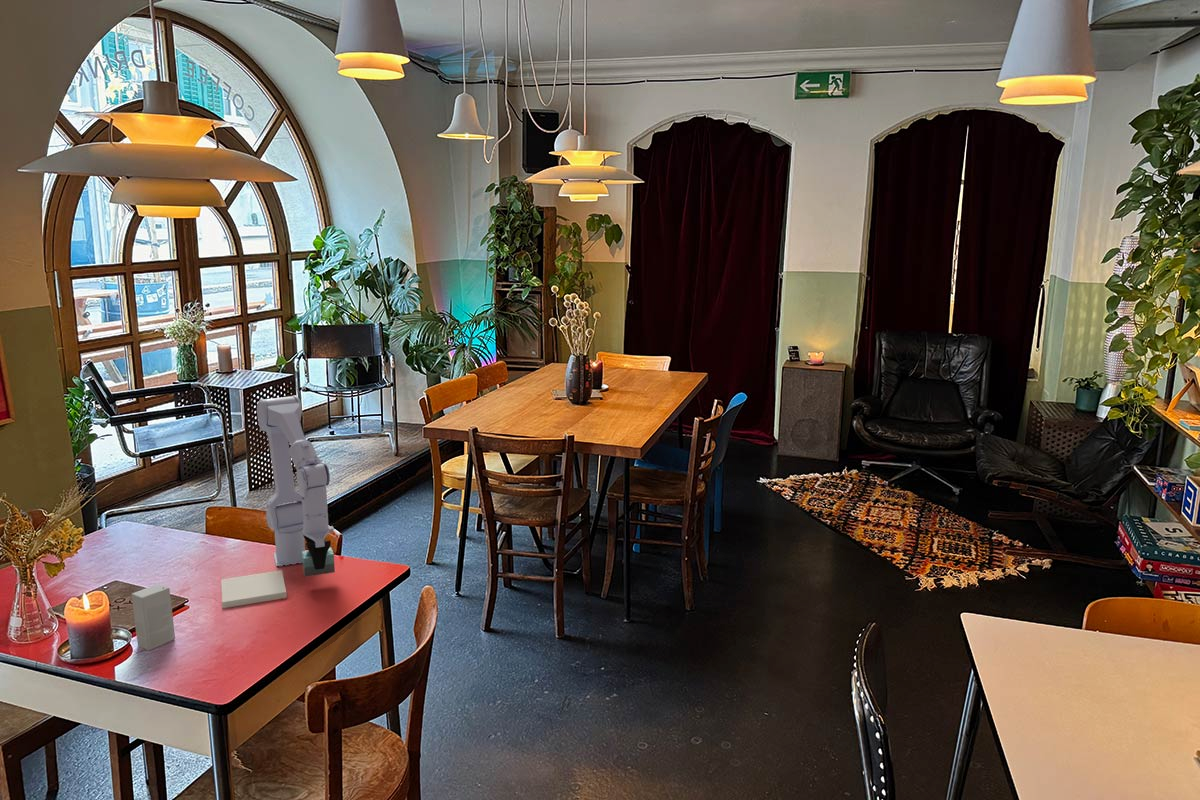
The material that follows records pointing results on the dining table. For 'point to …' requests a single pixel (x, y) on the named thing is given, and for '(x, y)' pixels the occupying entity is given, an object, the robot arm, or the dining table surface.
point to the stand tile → (253, 589)
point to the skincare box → (153, 616)
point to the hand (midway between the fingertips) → (318, 564)
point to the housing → (309, 566)
